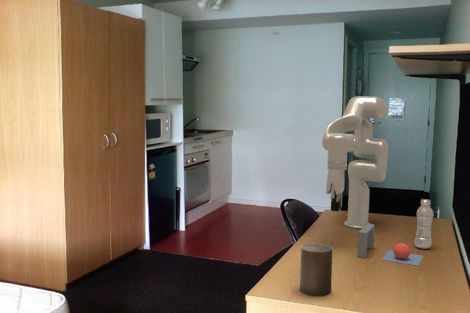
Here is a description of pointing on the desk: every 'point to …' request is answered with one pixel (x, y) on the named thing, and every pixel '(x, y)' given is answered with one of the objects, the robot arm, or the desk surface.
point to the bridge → (365, 240)
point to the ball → (401, 251)
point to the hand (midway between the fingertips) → (335, 210)
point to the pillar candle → (316, 269)
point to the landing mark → (410, 260)
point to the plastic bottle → (424, 225)
